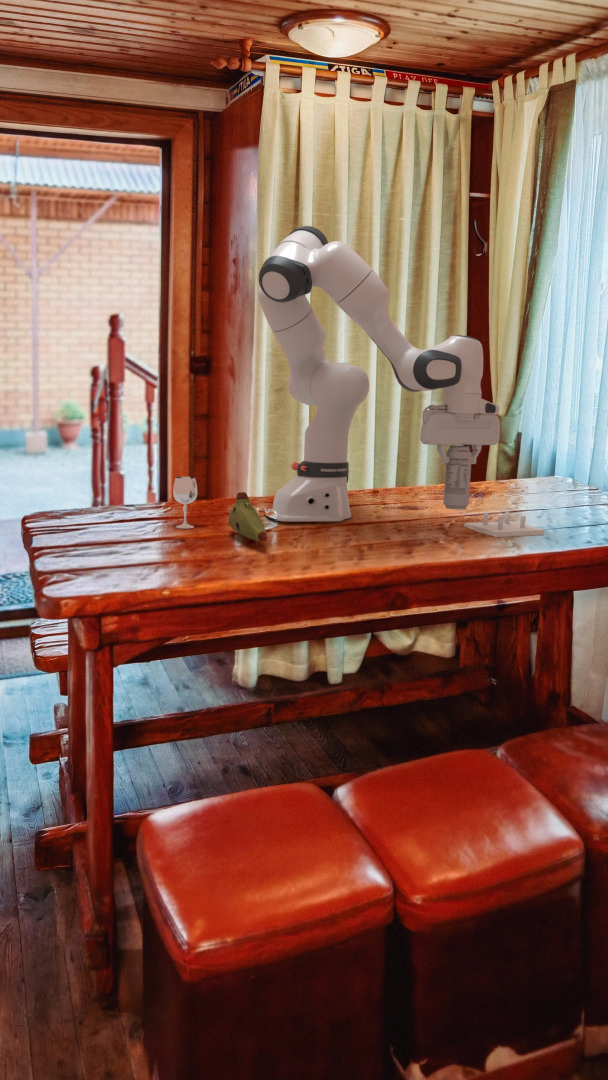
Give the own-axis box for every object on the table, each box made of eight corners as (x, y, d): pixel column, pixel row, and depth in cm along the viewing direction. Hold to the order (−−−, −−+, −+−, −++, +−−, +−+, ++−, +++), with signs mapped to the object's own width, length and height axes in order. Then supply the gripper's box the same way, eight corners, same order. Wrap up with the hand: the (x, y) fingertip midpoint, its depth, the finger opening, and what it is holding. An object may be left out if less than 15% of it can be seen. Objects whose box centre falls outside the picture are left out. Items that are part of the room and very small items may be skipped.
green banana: (277, 544, 199) (278, 499, 197) (254, 545, 196) (255, 500, 195) (241, 529, 216) (242, 488, 215) (220, 531, 214) (221, 489, 212)
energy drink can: (471, 507, 219) (475, 446, 217) (463, 510, 214) (467, 447, 211) (448, 505, 222) (451, 444, 219) (439, 508, 217) (442, 445, 214)
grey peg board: (495, 537, 215) (496, 519, 215) (464, 527, 228) (465, 511, 227) (544, 534, 221) (545, 517, 220) (510, 525, 233) (511, 509, 233)
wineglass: (170, 525, 220) (170, 476, 218) (193, 524, 222) (194, 476, 220) (176, 529, 215) (176, 479, 212) (199, 528, 217) (199, 478, 214)
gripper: (430, 405, 207) (427, 465, 209) (505, 406, 215) (501, 464, 217) (416, 404, 213) (413, 462, 215) (490, 406, 220) (486, 462, 223)
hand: (458, 463), depth 216 cm, fingers closed on energy drink can, 6 cm apart
